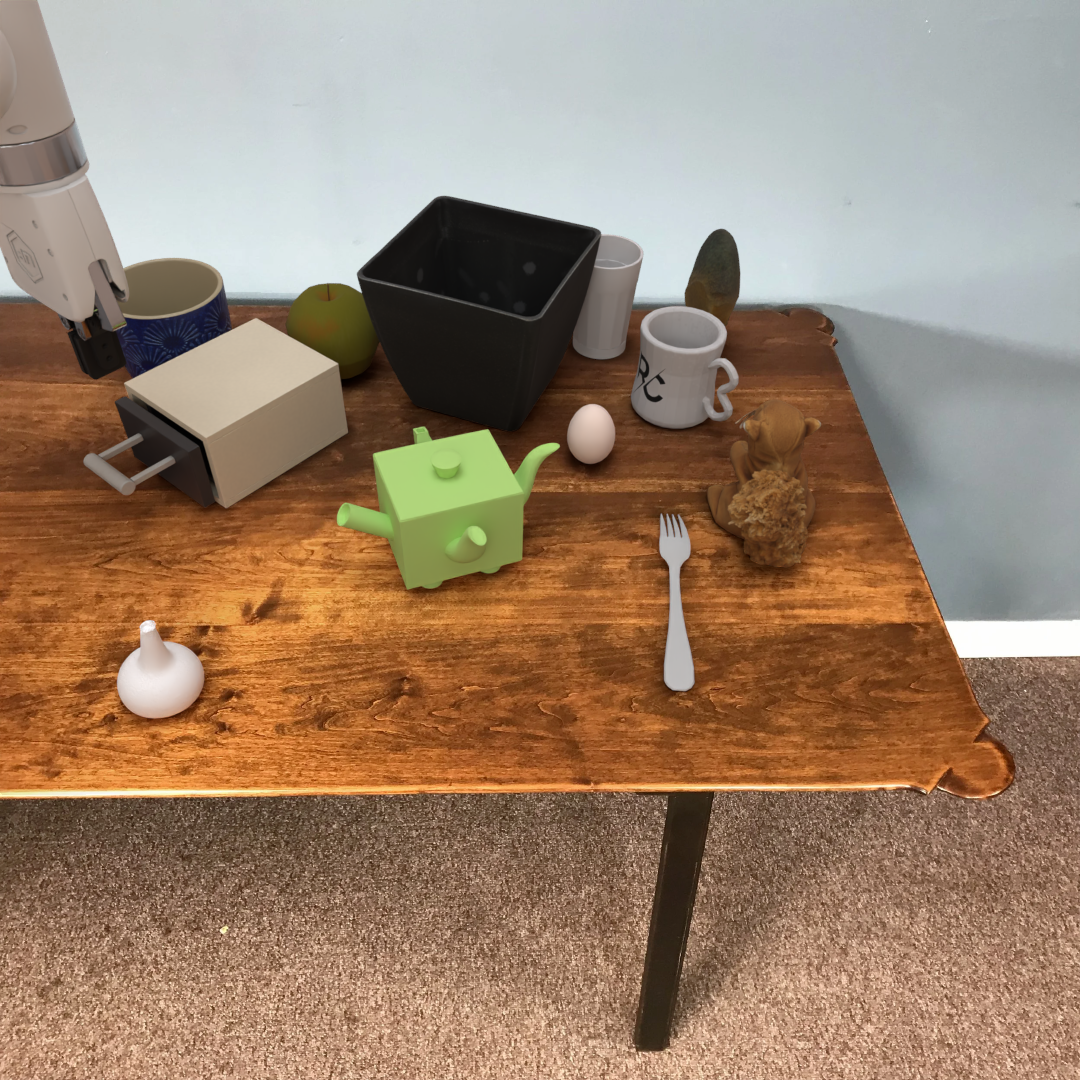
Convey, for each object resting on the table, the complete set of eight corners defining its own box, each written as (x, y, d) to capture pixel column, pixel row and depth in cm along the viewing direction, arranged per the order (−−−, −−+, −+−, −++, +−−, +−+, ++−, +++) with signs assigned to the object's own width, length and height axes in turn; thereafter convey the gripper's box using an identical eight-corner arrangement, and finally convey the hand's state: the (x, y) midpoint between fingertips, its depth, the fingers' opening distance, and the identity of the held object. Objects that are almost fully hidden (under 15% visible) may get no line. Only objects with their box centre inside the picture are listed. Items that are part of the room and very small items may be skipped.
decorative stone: (679, 326, 113) (697, 209, 103) (729, 333, 113) (752, 216, 102) (671, 370, 107) (691, 250, 96) (724, 377, 106) (749, 257, 95)
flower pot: (532, 462, 94) (538, 317, 82) (368, 416, 98) (351, 273, 87) (592, 365, 107) (604, 228, 95) (445, 329, 111) (438, 193, 99)
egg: (569, 442, 97) (572, 389, 92) (614, 448, 96) (620, 395, 91) (562, 471, 93) (565, 418, 88) (609, 477, 93) (615, 425, 88)
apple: (391, 348, 108) (382, 262, 100) (375, 397, 101) (364, 309, 93) (306, 343, 108) (291, 256, 100) (284, 391, 101) (267, 302, 93)
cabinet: (226, 508, 88) (206, 437, 82) (147, 453, 93) (123, 382, 87) (348, 432, 96) (338, 363, 90) (270, 385, 102) (256, 317, 96)
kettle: (556, 525, 88) (561, 432, 80) (495, 631, 78) (495, 538, 70) (415, 482, 91) (407, 389, 83) (341, 579, 82) (324, 485, 74)
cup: (607, 371, 106) (617, 276, 98) (552, 346, 109) (556, 252, 101) (645, 342, 111) (657, 249, 102) (590, 319, 114) (598, 227, 105)
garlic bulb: (120, 673, 74) (89, 608, 68) (200, 650, 76) (177, 585, 70) (129, 736, 70) (96, 672, 64) (213, 710, 72) (189, 645, 66)
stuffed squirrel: (804, 489, 92) (839, 380, 83) (823, 593, 82) (864, 482, 73) (705, 481, 93) (728, 371, 83) (711, 583, 83) (738, 472, 73)
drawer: (152, 540, 83) (131, 484, 78) (81, 485, 88) (57, 429, 83) (323, 436, 94) (313, 381, 90) (252, 392, 99) (239, 338, 95)
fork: (658, 704, 76) (662, 687, 74) (655, 513, 89) (658, 494, 87) (692, 706, 76) (697, 689, 74) (684, 515, 89) (688, 496, 87)
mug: (612, 403, 102) (621, 324, 95) (668, 373, 106) (680, 295, 99) (696, 458, 95) (712, 378, 88) (752, 424, 100) (772, 345, 93)
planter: (264, 376, 103) (245, 289, 95) (162, 422, 97) (133, 332, 89) (206, 331, 109) (184, 245, 101) (107, 371, 103) (75, 283, 95)
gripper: (-80, 137, 66) (16, 354, 79) (33, 200, 59) (117, 426, 72) (20, 109, 70) (95, 319, 83) (135, 165, 64) (197, 384, 77)
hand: (105, 368), depth 78 cm, fingers closed
